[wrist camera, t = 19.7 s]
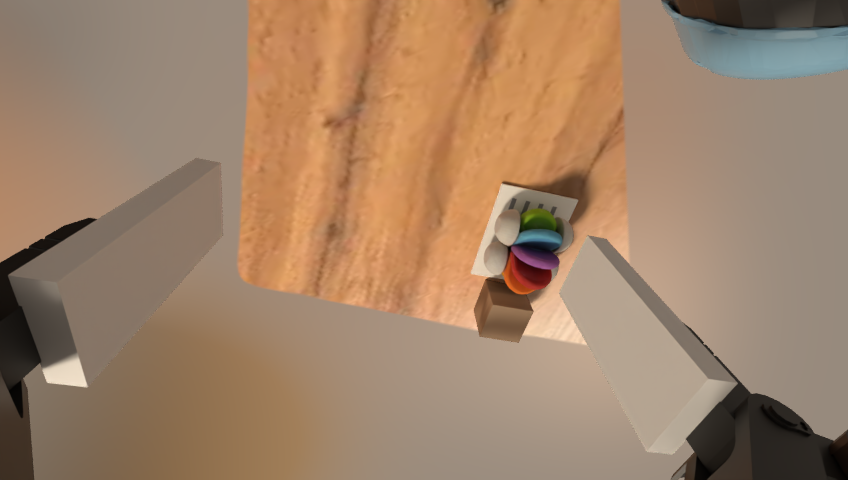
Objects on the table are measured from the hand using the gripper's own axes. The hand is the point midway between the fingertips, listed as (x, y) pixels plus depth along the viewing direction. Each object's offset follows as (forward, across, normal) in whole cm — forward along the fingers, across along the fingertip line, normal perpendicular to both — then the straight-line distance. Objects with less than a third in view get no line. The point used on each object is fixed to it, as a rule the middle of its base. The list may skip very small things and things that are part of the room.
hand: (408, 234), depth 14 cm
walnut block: (+27, +16, -21) cm, 38 cm away
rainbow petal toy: (+27, +16, -12) cm, 33 cm away
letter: (+27, +16, -12) cm, 33 cm away
